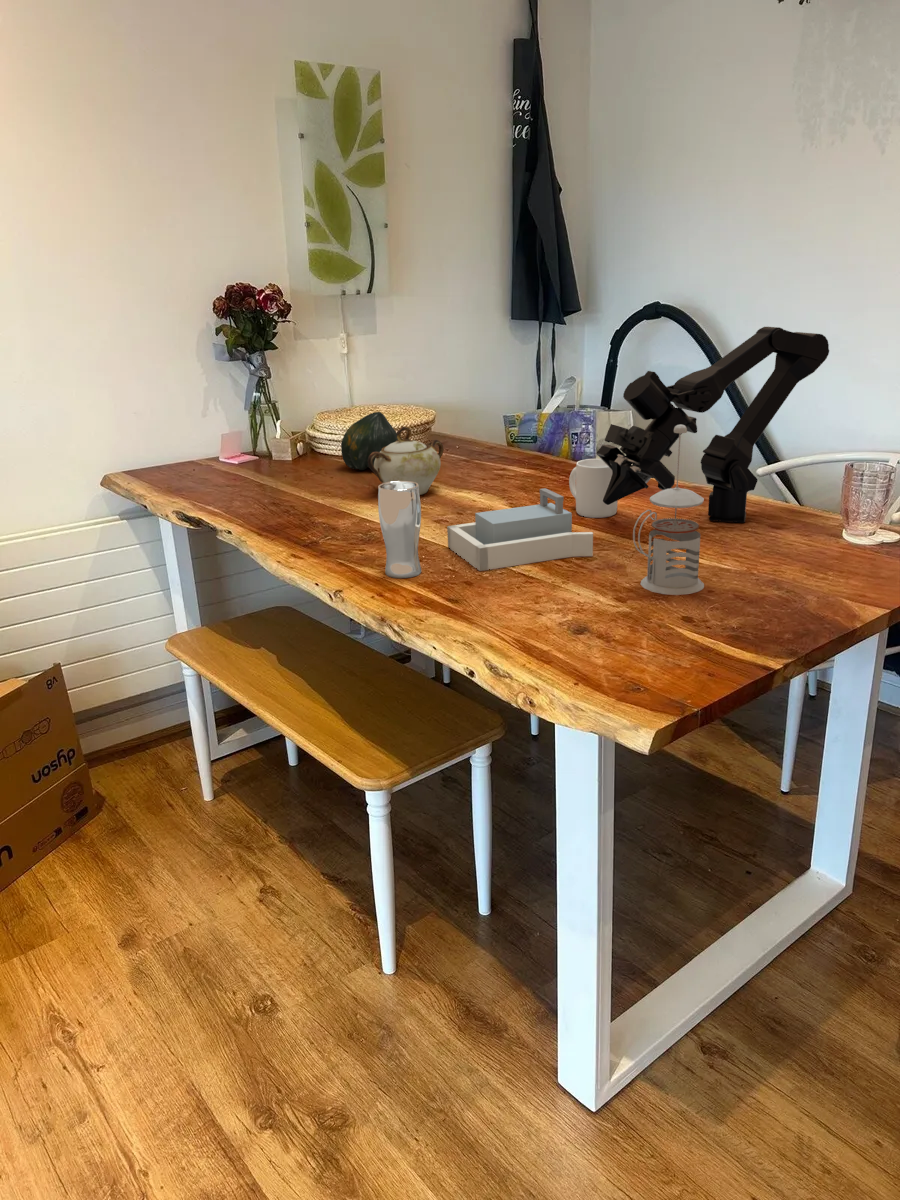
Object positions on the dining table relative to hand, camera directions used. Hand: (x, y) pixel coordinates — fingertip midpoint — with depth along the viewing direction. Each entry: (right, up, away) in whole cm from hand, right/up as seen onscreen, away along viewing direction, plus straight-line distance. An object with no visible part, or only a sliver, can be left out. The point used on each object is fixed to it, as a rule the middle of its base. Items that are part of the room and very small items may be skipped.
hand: (605, 503), depth 164 cm
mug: (0, 0, +20) cm, 20 cm away
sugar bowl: (-38, +7, +41) cm, 56 cm away
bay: (-16, -9, -3) cm, 19 cm away
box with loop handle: (-15, -9, -3) cm, 18 cm away
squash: (-48, +16, +67) cm, 84 cm away
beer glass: (-36, -13, -13) cm, 40 cm away
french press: (+6, -15, -23) cm, 28 cm away
